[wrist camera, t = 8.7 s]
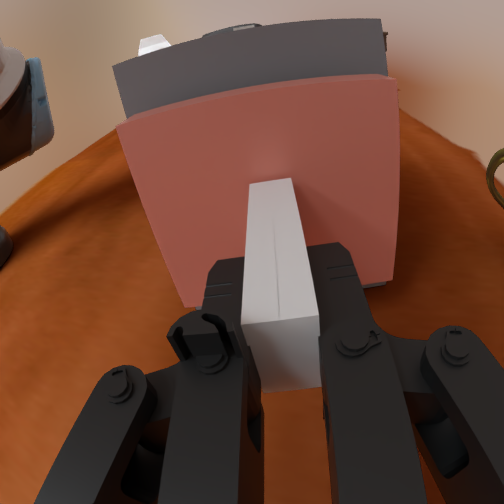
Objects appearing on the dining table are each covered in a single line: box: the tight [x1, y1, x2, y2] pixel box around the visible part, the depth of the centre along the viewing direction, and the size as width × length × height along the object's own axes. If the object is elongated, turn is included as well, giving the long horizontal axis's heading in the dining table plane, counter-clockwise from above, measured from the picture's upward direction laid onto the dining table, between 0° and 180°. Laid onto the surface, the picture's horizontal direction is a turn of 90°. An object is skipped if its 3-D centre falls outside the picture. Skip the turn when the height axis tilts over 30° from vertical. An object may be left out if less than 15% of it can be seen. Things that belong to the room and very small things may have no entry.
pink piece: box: [116, 74, 400, 308], centre depth 18 cm, size 14×10×9 cm
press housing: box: [112, 19, 388, 310], centre depth 20 cm, size 12×12×15 cm
